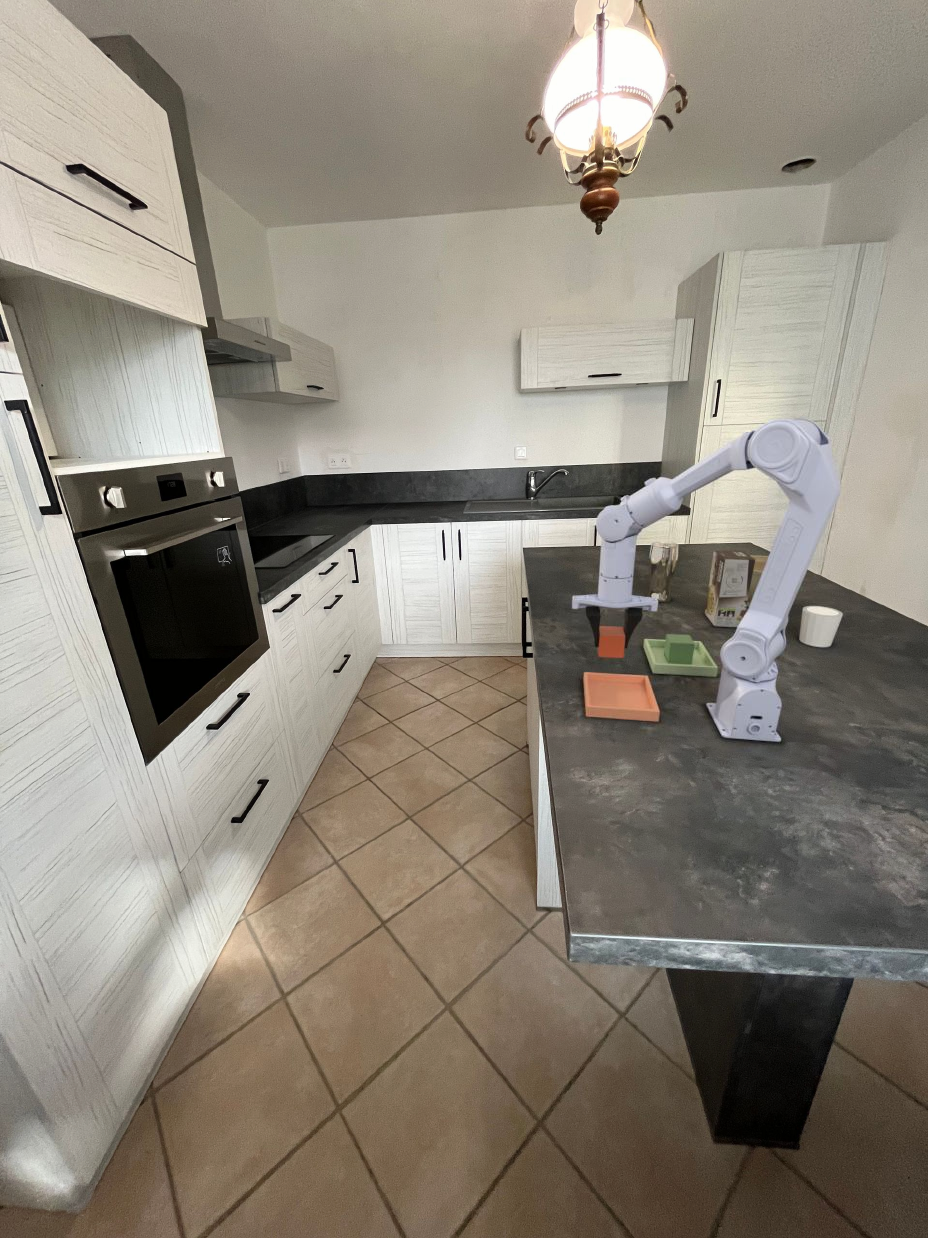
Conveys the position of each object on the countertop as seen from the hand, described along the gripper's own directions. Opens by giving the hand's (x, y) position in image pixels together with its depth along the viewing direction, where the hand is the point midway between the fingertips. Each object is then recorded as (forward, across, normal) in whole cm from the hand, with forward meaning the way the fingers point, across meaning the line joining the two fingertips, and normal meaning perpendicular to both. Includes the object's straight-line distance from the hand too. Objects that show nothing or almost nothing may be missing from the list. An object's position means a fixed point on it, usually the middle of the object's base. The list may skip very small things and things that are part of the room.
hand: (610, 645), depth 90 cm
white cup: (+6, -44, -21) cm, 49 cm away
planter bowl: (+6, -41, -45) cm, 61 cm away
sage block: (+6, -14, -8) cm, 17 cm away
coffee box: (+6, -29, -32) cm, 44 cm away
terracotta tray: (+6, -1, +9) cm, 11 cm away
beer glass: (+6, -17, -47) cm, 51 cm away
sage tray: (+6, -14, -8) cm, 17 cm away
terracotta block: (+1, 0, 0) cm, 1 cm away
